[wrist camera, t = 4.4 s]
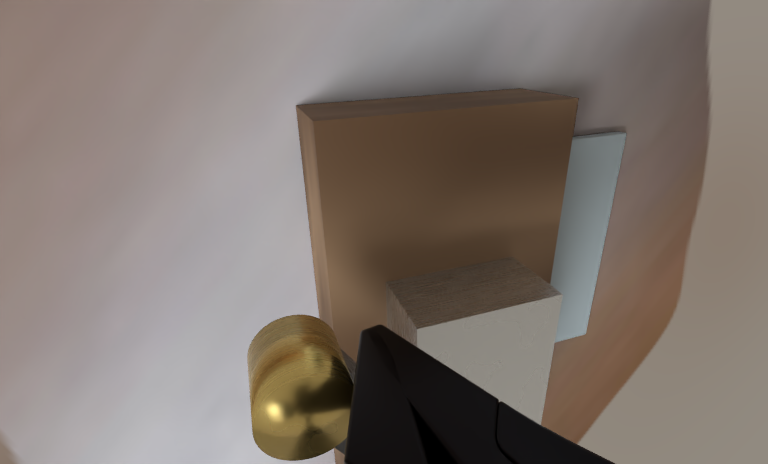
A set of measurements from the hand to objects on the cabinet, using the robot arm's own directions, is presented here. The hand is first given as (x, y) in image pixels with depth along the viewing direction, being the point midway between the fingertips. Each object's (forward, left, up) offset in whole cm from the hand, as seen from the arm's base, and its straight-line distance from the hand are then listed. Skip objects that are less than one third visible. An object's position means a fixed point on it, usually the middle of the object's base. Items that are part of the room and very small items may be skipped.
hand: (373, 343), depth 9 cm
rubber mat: (-3, -10, -7) cm, 13 cm away
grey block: (-4, -4, -4) cm, 7 cm away
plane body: (-4, -4, -7) cm, 9 cm away
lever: (-5, -1, -4) cm, 6 cm away
